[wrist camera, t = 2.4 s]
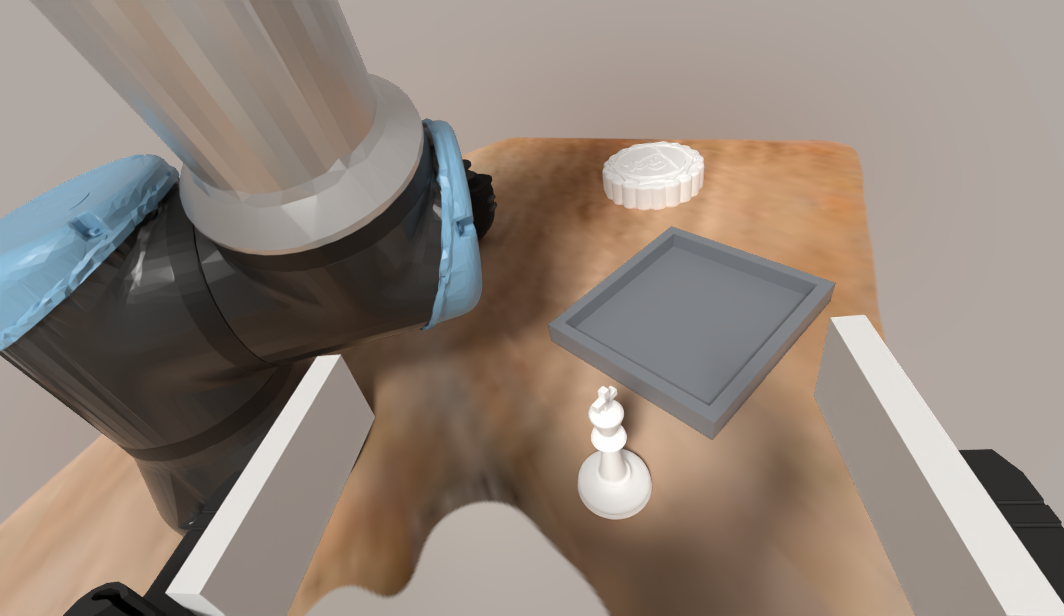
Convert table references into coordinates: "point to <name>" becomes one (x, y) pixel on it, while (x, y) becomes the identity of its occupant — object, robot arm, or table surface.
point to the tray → (692, 324)
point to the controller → (480, 199)
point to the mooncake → (653, 175)
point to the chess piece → (612, 465)
